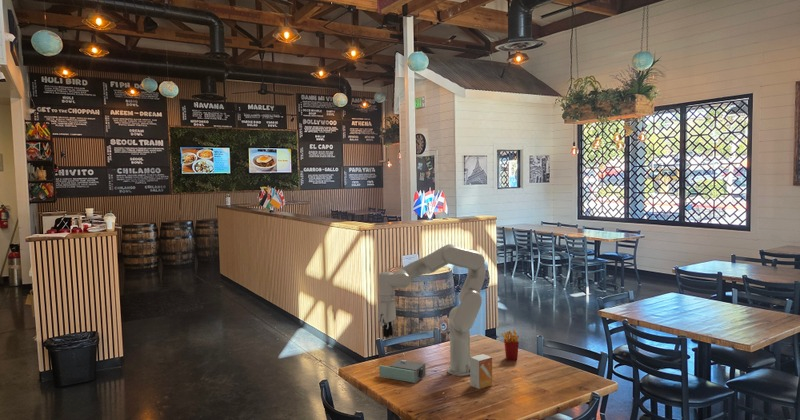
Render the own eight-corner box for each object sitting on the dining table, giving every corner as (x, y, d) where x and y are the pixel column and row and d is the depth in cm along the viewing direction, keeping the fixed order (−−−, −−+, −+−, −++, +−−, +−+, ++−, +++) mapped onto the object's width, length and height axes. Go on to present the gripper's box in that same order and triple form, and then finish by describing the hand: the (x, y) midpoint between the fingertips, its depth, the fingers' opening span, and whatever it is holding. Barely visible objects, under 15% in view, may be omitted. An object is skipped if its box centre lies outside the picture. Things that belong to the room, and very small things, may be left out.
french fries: (519, 361, 267) (519, 332, 266) (503, 361, 267) (502, 332, 266) (515, 355, 275) (515, 327, 275) (500, 356, 275) (499, 327, 275)
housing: (427, 376, 249) (427, 361, 249) (418, 383, 241) (417, 368, 240) (399, 371, 257) (399, 357, 256) (389, 378, 248) (389, 364, 247)
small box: (479, 389, 232) (478, 360, 231) (469, 385, 237) (469, 357, 236) (492, 385, 236) (492, 357, 235) (483, 381, 241) (482, 353, 241)
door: (416, 382, 241) (416, 371, 240) (415, 383, 240) (415, 371, 240) (380, 375, 250) (380, 365, 250) (379, 376, 249) (379, 365, 249)
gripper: (388, 294, 259) (389, 330, 260) (371, 300, 245) (372, 339, 246) (401, 295, 255) (402, 332, 256) (385, 302, 241) (386, 341, 242)
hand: (387, 335), depth 251 cm, fingers closed
